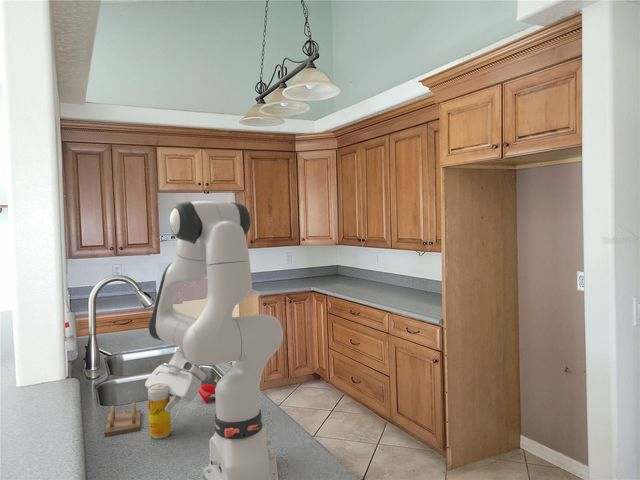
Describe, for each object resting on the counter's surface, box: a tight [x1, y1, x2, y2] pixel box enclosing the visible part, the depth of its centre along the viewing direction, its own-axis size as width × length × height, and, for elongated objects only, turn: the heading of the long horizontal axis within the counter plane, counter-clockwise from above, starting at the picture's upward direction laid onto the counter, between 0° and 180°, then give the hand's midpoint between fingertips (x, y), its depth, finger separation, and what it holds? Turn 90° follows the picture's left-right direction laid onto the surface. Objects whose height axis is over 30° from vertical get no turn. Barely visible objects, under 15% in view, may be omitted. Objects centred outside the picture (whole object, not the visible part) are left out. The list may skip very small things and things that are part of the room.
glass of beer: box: [147, 383, 172, 440], centre depth 142 cm, size 6×6×15 cm
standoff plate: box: [104, 402, 142, 437], centre depth 151 cm, size 14×10×5 cm
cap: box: [198, 383, 216, 404], centre depth 169 cm, size 8×6×6 cm
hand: (157, 408), depth 142 cm, fingers closed on glass of beer, 6 cm apart
